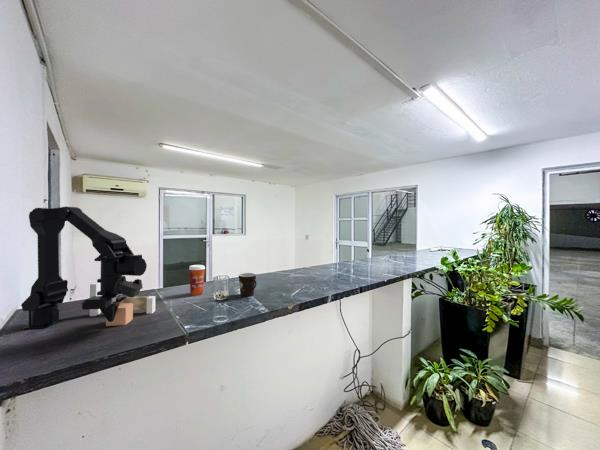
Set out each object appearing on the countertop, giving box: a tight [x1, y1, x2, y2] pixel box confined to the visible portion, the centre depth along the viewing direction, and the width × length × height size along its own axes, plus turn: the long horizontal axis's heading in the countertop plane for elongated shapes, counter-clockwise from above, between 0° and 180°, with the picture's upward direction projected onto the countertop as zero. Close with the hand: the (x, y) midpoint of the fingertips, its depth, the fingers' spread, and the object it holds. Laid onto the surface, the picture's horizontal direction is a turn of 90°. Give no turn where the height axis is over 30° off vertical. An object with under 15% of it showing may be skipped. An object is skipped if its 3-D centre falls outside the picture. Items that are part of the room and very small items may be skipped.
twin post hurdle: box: [89, 281, 156, 317], centre depth 94 cm, size 22×3×12 cm, turn 100°
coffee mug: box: [238, 272, 257, 298], centre depth 120 cm, size 12×9×10 cm
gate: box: [101, 296, 149, 313], centre depth 94 cm, size 16×1×5 cm, turn 100°
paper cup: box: [188, 264, 206, 296], centre depth 122 cm, size 8×8×14 cm
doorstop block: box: [105, 303, 134, 327], centre depth 86 cm, size 6×5×6 cm
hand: (111, 321), depth 81 cm, fingers closed
